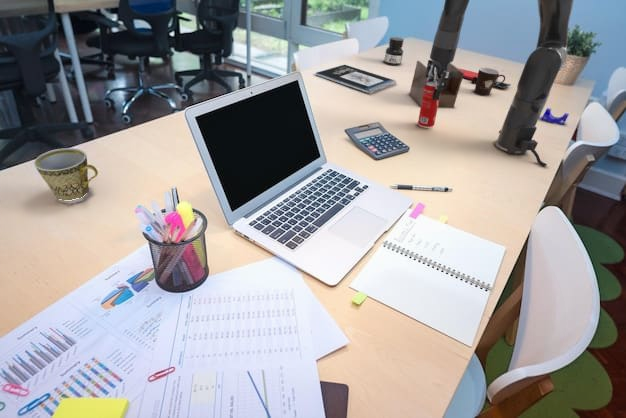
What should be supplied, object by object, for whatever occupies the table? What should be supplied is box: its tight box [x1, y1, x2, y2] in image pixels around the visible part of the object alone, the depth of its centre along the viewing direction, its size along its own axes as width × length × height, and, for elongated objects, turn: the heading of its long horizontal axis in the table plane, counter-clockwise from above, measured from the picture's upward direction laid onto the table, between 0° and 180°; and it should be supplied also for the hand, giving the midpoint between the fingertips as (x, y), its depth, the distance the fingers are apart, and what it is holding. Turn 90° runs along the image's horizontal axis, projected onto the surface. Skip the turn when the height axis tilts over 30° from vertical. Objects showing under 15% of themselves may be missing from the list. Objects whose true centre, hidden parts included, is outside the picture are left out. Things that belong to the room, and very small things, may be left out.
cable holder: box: [541, 107, 570, 126], centre depth 154 cm, size 8×4×4 cm, turn 52°
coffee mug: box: [473, 67, 506, 97], centre depth 172 cm, size 12×9×10 cm
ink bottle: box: [383, 36, 404, 66], centre depth 199 cm, size 10×9×12 cm
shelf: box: [409, 60, 464, 109], centre depth 159 cm, size 14×14×14 cm
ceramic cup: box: [33, 147, 99, 205], centre depth 89 cm, size 13×10×10 cm
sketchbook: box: [315, 64, 397, 95], centre depth 176 cm, size 22×30×2 cm
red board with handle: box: [457, 67, 511, 89], centre depth 190 cm, size 30×3×15 cm
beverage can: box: [417, 82, 441, 129], centre depth 136 cm, size 6×6×15 cm
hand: (431, 96), depth 134 cm, fingers closed on beverage can, 5 cm apart
